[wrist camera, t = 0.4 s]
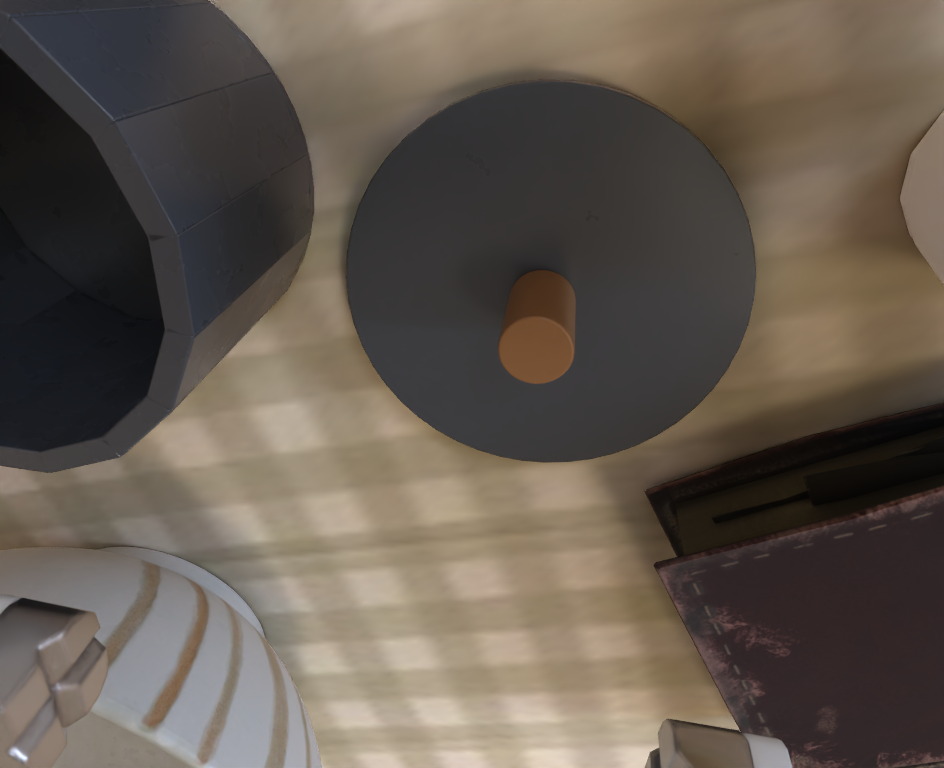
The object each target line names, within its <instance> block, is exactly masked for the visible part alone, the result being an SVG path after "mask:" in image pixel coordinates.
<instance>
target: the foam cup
mask: <svg viewBox="0 0 944 768" xmlns="http://www.w3.org/2000/svg"><path fill="white" fill-rule="evenodd" d="M900 202H901V205H902V209H903V213H904V217H905V220H906V224H907V228H908V231H909V235H910V236H911V237H912V238H913V240H914V243H915V245H916V247H917V248H918V249H919V251H920V252H921V254H922V255H923V257H924V258H925V259H926V261H927V262H928V264H929V265H930V267H931V268H932V269H933V271H934V272H935V274H936V275H937V277H938V278H939V280H940V281H941V282H942V284H943V285H944V111H943V112H942V113H941V114H940V116H939V117H938V118H937V120H936V121H935V122H934V124H933V125H932V126H931V128H930V129H929V130H928V132H927V133H926V134H925V136H924V137H923V138H922V140H921V141H920V142H919V144H918V145H917V146H916V148H915V149H914V150H913V152H912V153H911V155H910V159H909V163H908V167H907V171H906V175H905V179H904V183H903V187H902V191H901V195H900Z"/></svg>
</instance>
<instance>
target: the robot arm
mask: <svg viewBox="0 0 944 768" xmlns="http://www.w3.org/2000/svg"><path fill="white" fill-rule="evenodd" d="M100 628H101V627H100V624H99V622H98V619H97V616H96V613H95V612H92V611H87V610H82V609H77V608H72V607H67V606H62V605H57V604H52V603H47V602H42V601H37V600H32V599H28V598H25V597H19V596H14V595H8V594H3V593H0V768H52V766H53V765H54V763H55V762H56V760H57V759H58V757H59V756H60V754H61V753H62V751H63V750H64V749H65V747H66V746H67V727H68V726H70V725H72V724H73V723H75V722H76V721H78V720H80V719H81V718H83V717H85V716H86V715H88V713H89V711H90V710H91V708H92V707H93V705H94V704H95V702H96V701H97V699H98V698H99V696H100V694H101V691H102V689H103V686H104V683H105V681H106V678H107V675H108V666H109V658H108V654H107V649H106V647H105V646H103V645H102V644H101V643H100V642H99V641H98V640H97V639H96V638H95V637H94V636H95V634H96V633H97V632H98V630H99V629H100ZM658 739H659V748H657V749H655V750H653V751H651V752H650V754H649V757H648V760H647V763H646V765H645V768H792V764H791V760H790V757H789V753H788V749H787V748H786V747H785V745H784V744H783V742H782V741H781V740H779V739H777V738H772V737H766V736H760V735H754V734H748V733H742V732H740V731H738V730H732V729H726V728H720V727H715V726H709V725H703V724H697V723H691V722H685V721H679V720H673V719H666V720H665V721H663V723H662V725H661V727H660V729H659V732H658Z"/></svg>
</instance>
